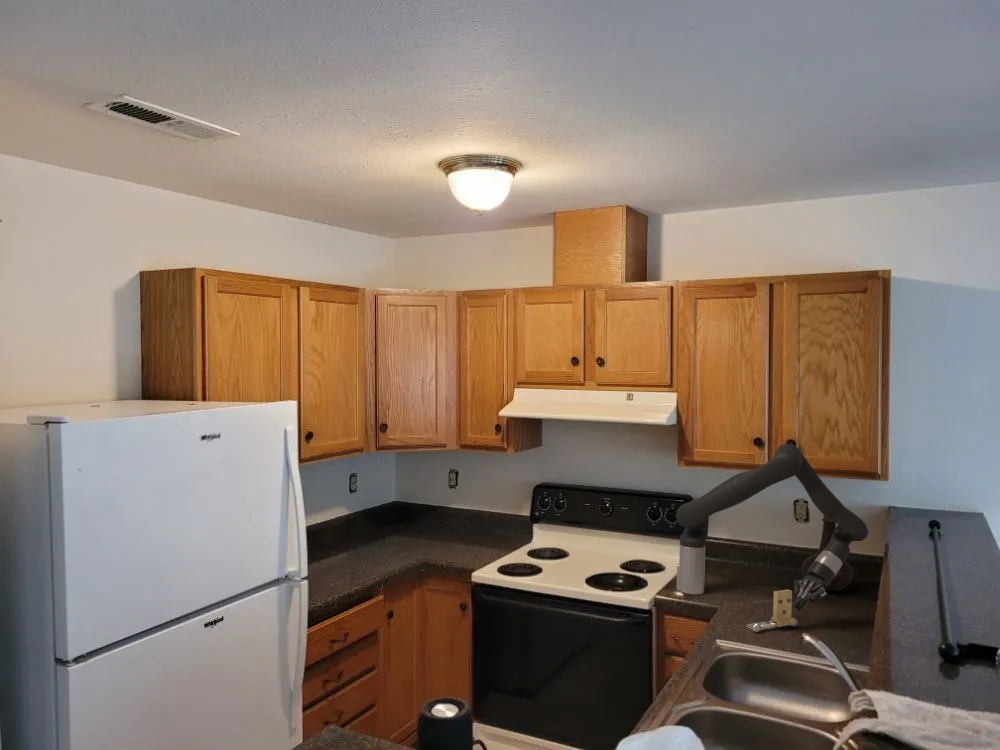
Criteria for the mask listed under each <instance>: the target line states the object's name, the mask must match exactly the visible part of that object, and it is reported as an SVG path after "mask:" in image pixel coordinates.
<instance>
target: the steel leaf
mask: <svg viewBox="0 0 1000 750" xmlns="http://www.w3.org/2000/svg"><path fill="white" fill-rule="evenodd" d="M791 618H792V619H794V622H793V625H787V626H780V627H778V626H777V623H771V620H768V621H767V620H765V621H761V622H754V623H753V622H752V623H747V624H746V628H747V627H748V628H747V629H749V628H750V629H749V630H751V629H752V630H751V631H753V632H754V633H758V632H762V631H764V630H771V629H776V628H784V627H790V628H792V627H797V625H798V624H799V623H798V620H797V619H796V618H795V617H791Z"/></svg>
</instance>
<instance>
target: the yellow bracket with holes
mask: <svg viewBox="0 0 1000 750" xmlns="http://www.w3.org/2000/svg"><path fill="white" fill-rule="evenodd" d="M792 599H793V591H792V590H791V589H782V590H774V591H773V609H772V616H771V617H770V621H771V623H777V626H778V628H781V627H780V626H785V627H788V626H787V625H793V622H794V619H792V618H793V617H792V608H793V606H792V605H793V602H792V601H793V600H792Z"/></svg>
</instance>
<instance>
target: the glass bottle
mask: <svg viewBox="0 0 1000 750" xmlns="http://www.w3.org/2000/svg"><path fill="white" fill-rule="evenodd" d="M822 515H823V514H822ZM821 521H822V522H823V524H822V532H821V539H820V543H819V544H820V545H819V548H818V550H817V552H816V553H815V554H812V555H809V556H808V557H807V558H805V559H804V561H803V562H802V564H801V575H802V577H803V578H804V577H805V576H806V575H807V571H808V569H809V568H810V566H811V565H812V564H813V562H814V561H815V560H816V558H817V557H818V556H819V555H820V554H821V553H822V552H823V550H824V549H825V547H826V546H827V545H828V544H829V542H830V540H831V537H832V535H833V533H834V530H835V528H836V527H837V525H836V524H837V523H835V522H831V521H829V520H828V519H827V518H826V517H825V516H824V515H823V518H822V519H821ZM853 576H854V571H853V568H852V566H851V565H850V563H849V562H848V561H847V560H845V561H844V563H843V564H842V566H841V568H840V570H839V571H838V572H837V574H836V575H835V577H834V578H833V579H832V581H831V582H830V584H829V585H828V586H826V587H825V589H824V590H825V592H830V591H837V592H841V591H843V590H844V589H846V588H847V587H848V586H849V585H850V584H851V582H852V580H853V578H854V577H853Z"/></svg>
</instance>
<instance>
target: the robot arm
mask: <svg viewBox="0 0 1000 750" xmlns="http://www.w3.org/2000/svg"><path fill="white" fill-rule="evenodd" d="M794 476H795V477H796V478H797V479H798V481H799V483H800V484H801V485H802V487H803V488H804V490H805V491H806V493H807V495H808V496H809V498H810V500H811V502H812V504H813V505H814V506H815V507H816V508H817V509H818V510H819V511H820V513H821V514H822V515H824V516H825V517H826V518H827V519H828V520H829V521H831V522H835V523H836V524H837V525H836V528H835V530H834V533H833V535H832V537H831V540H830V542H829V544H828V545H827V546H826V547H825V549H824V550H823V552H822V553H821V554H820V555H819V556H818V557H817V558H816V560H815V561H814V562H813V564H812V565H811V566H810V568H809V569H808V571H807V575H806V576H805V577H803V578H802V579H800V580H798V579H795V580H793V585H794V586H793V587H794V588H793V589H794V595H796V598H795V600H794V601H793V602H792V608H793V609H794V610H795V611H798V612H799V611H801V610H803V608H804V606H805V605H806V604H807V603H811V604H813V603H815V602H818V601H820V600H822V599H824V598H826V597H828V593H827V591H825V590H824V589H825V587H826V586H828V585H829V584H830V582H831V581H832V579H833V578H834V577H835V575H836V574H837V572H838V571H839V570H840V568H841V566H842V564H843V563H844V561H847V559H848V558H849V555H850V553H851V548H850V547H849V546H850V545H851V543H852V542H861V541H864V540H865V539H867V537H868V535H869V529H868V526H867V524H866V523H865V522H864V520H863V519H862V518H860V517H859V516H858V515H857V514H855V513H854V512H853V511H851V510H850V509H849V508H847V507H846V506H845V505H844V504H843V503H842V502H841V501H840V500H839V498H838V497H837V496H835V494H834V493H833V492H832V491H831V489H829V487H827V485H826V484H825V482H823V480H822V479H821V478H820V477H819V475H818V474H817V473H816V471H815V470H814V469H813V467H812V466H811V464H810V463H809V461H808V460H807V458H806V457H805V455H804V453H803V452H802V451H801V450H800V448H799V447H797V446H796V445H794V444H791V443H784V444H781V445H779V446H778V447H777V448H776V450H775V452H774V454H773V456H772V458H770V459H769V460H768V461H767V462H765V463H764V464H761V466H759V467H757V468H755V469H752V470H747V471H742V472H740V473H737V474H734V475H733V476H731V477H729V478H728V479H726V480H724V481H723V482H720V483H719V484H718V485H716V486H715V487H713V488H712V489H711V490H709V491H708V492H706V493H705V494H704V495H701V496H700V497H698V498H695V499H693V500H690V501H689V502H688V501H687V502H686V503H683V504H681V505H680V506H679V507H678V508H677V510H676V516H675V518H676V521H677V523H678V524H679V525H680V526H682V527H684V531H683V532H682V534H681V535H680V537H679V563H678V564H677V566H676V591H679V592H681V593H682V594H687V595H702V594H704V593H705V579H706V578H705V574H706V573H705V572H706V570H705V569H706V568H705V567H706V565H705V564H706V542H707V540H708V535H709V520H710V519H709V518H710V516H712V515H714V514H716V513H719V512H721V511H724V510H727V509H730V508H732V507H735V506H738V505H739V504H741V503H743V502H744V501H747V500H749V499H750V498H753V497H754V496H755V495H757V494H759V493H761V492H762V491H764V490H766V489H767V488H768V487H771V486H772V485H776V484H778V483H779V482H782V481H785V480H787V479H791V478H792V477H794Z"/></svg>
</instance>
